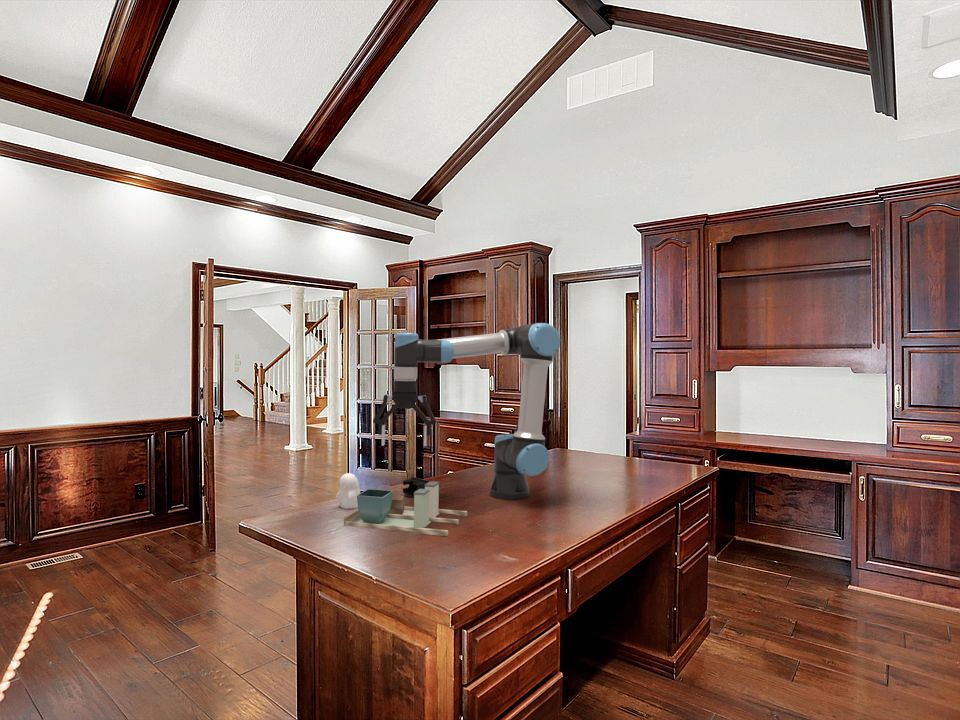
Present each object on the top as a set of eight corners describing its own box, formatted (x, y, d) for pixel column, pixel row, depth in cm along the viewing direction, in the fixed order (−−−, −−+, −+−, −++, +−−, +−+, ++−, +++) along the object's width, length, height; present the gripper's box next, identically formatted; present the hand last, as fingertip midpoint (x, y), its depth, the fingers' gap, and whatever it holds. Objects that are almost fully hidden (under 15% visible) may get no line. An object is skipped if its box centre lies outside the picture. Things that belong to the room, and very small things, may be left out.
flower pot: (382, 526, 169) (383, 497, 168) (355, 524, 170) (355, 495, 170) (393, 518, 177) (393, 490, 177) (367, 516, 179) (367, 488, 179)
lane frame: (467, 515, 183) (467, 506, 183) (447, 536, 162) (447, 526, 162) (374, 508, 191) (374, 499, 191) (343, 526, 170) (343, 516, 170)
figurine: (334, 509, 189) (334, 473, 189) (349, 504, 196) (349, 469, 196) (350, 512, 186) (350, 476, 186) (365, 506, 193) (365, 472, 193)
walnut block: (403, 511, 186) (404, 496, 186) (402, 515, 181) (402, 499, 181) (388, 510, 186) (389, 495, 186) (386, 515, 181) (386, 499, 181)
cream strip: (440, 514, 184) (440, 481, 184) (432, 521, 176) (432, 486, 176) (377, 509, 189) (378, 476, 189) (367, 515, 182) (368, 481, 182)
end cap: (434, 498, 206) (434, 479, 206) (419, 501, 201) (419, 482, 201) (416, 493, 213) (417, 475, 213) (401, 496, 208) (402, 478, 208)
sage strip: (431, 523, 174) (432, 487, 174) (420, 532, 165) (421, 495, 165) (366, 517, 180) (366, 483, 180) (352, 526, 170) (352, 489, 170)
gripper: (444, 380, 187) (442, 444, 187) (368, 379, 185) (367, 443, 185) (443, 381, 179) (442, 447, 179) (365, 379, 178) (363, 446, 178)
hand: (404, 445), depth 182 cm, fingers open, 13 cm apart
